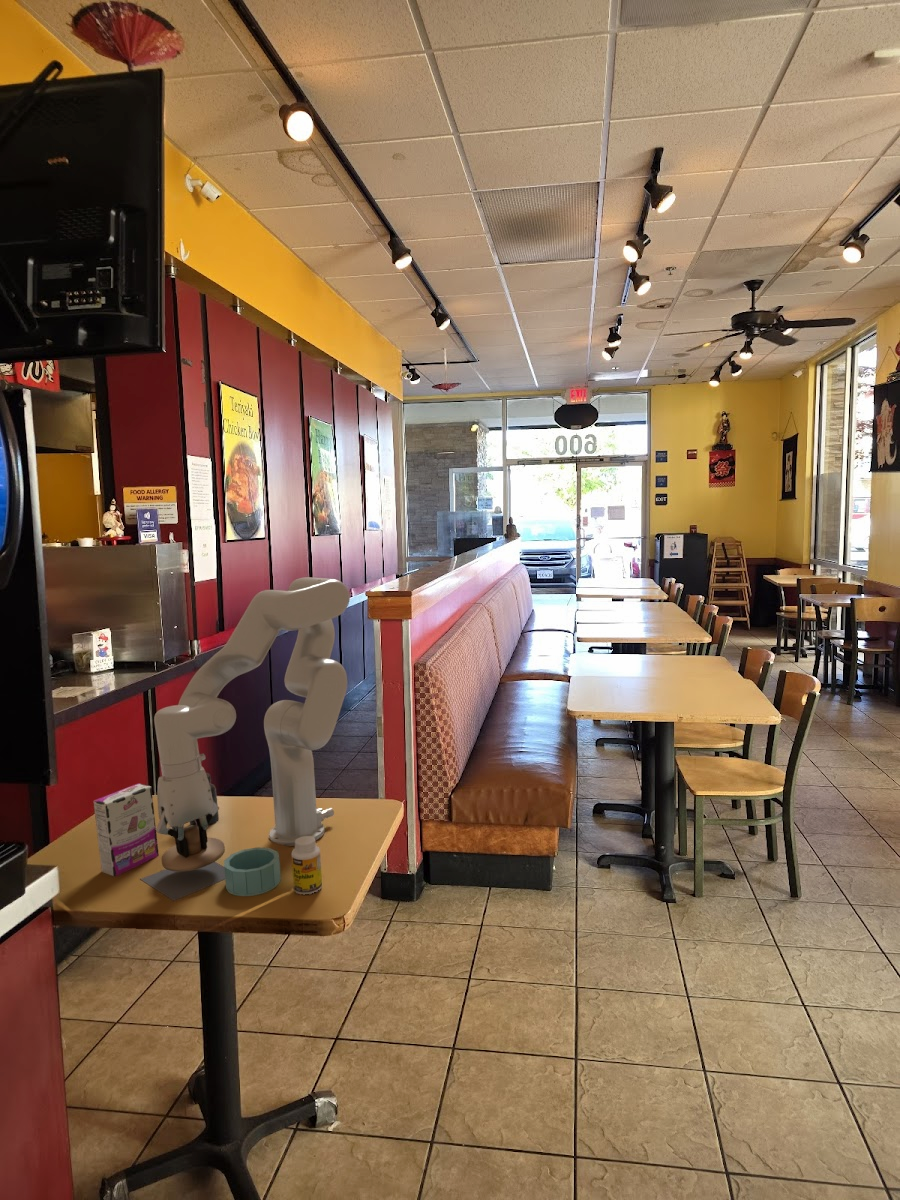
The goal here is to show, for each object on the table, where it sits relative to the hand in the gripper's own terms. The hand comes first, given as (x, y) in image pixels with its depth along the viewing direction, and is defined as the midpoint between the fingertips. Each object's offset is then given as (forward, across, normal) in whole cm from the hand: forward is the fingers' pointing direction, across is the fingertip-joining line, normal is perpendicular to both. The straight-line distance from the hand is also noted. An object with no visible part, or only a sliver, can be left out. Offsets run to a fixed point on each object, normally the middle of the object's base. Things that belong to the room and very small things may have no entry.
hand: (193, 850), depth 160 cm
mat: (+6, +2, 0) cm, 6 cm away
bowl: (+6, -5, +13) cm, 15 cm away
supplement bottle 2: (+7, -11, +23) cm, 26 cm away
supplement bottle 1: (+7, -15, -24) cm, 29 cm away
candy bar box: (+6, +7, -16) cm, 18 cm away
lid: (+1, 0, 0) cm, 1 cm away
